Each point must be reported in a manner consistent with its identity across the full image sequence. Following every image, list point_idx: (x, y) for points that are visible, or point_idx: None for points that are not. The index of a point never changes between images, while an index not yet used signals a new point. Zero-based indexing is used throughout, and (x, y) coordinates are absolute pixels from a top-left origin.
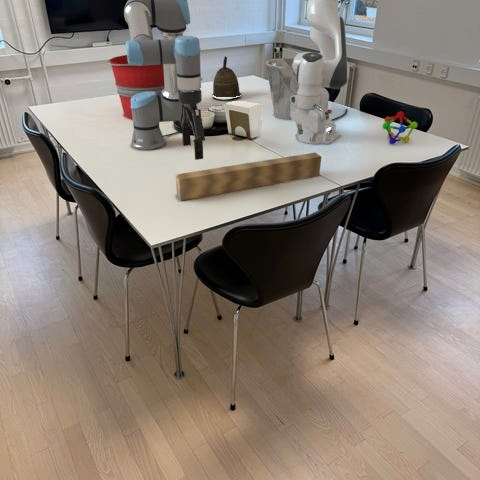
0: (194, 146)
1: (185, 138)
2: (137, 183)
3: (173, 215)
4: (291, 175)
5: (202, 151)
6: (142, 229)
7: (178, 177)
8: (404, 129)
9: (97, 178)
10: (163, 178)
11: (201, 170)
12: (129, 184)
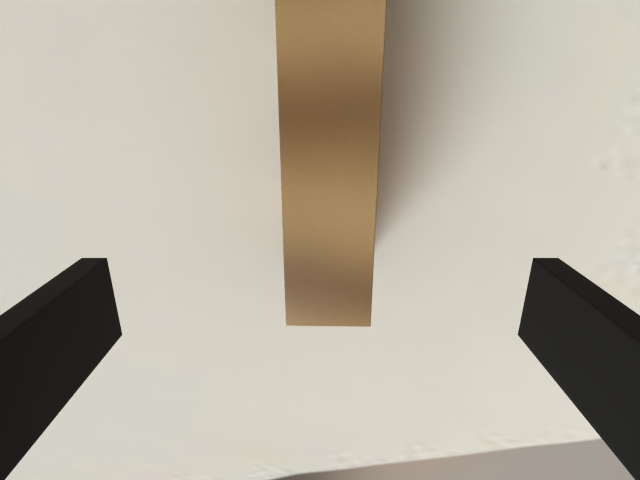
0: (617, 450)
1: (69, 366)
2: (113, 382)
3: (475, 329)
4: None
5: (615, 307)
6: (516, 442)
7: (337, 321)
8: None
9: None
10: None
11: (281, 148)
12: (116, 410)
